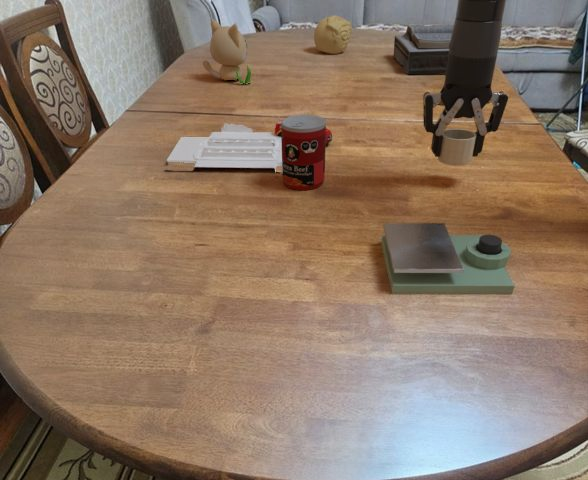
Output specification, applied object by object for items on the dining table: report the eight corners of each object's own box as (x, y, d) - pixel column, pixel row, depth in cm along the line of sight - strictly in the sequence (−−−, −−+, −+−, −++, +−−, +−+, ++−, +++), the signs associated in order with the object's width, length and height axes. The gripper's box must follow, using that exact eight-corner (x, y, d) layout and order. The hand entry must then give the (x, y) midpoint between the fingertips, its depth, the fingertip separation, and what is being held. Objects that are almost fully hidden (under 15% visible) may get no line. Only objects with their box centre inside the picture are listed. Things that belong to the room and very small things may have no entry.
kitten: (262, 81, 157) (260, 21, 147) (236, 88, 151) (232, 26, 142) (228, 72, 165) (223, 15, 155) (202, 79, 159) (195, 20, 150)
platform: (443, 226, 81) (444, 222, 81) (462, 273, 71) (463, 269, 71) (383, 226, 81) (383, 223, 81) (393, 273, 71) (394, 269, 71)
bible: (464, 55, 179) (470, 21, 172) (473, 76, 158) (480, 38, 152) (392, 54, 182) (396, 20, 175) (392, 74, 161) (395, 36, 155)
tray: (307, 173, 105) (306, 154, 103) (164, 176, 107) (160, 158, 104) (310, 137, 121) (309, 119, 118) (185, 140, 123) (182, 123, 120)
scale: (492, 243, 83) (496, 225, 81) (519, 294, 73) (525, 275, 71) (380, 243, 84) (382, 225, 82) (391, 294, 73) (394, 275, 71)
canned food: (274, 185, 101) (272, 123, 94) (298, 171, 106) (297, 111, 99) (309, 194, 97) (309, 131, 90) (332, 179, 103) (334, 118, 95)
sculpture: (339, 57, 179) (341, 19, 172) (307, 53, 184) (308, 16, 177) (355, 50, 186) (357, 14, 180) (324, 47, 191) (325, 11, 184)
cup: (467, 153, 101) (472, 128, 98) (475, 165, 96) (480, 139, 93) (434, 153, 101) (438, 128, 98) (440, 166, 96) (444, 140, 93)
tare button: (496, 245, 78) (498, 234, 76) (501, 256, 75) (504, 244, 74) (474, 245, 78) (477, 234, 76) (479, 256, 75) (482, 244, 74)
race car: (336, 141, 117) (337, 122, 115) (324, 149, 114) (324, 129, 111) (285, 130, 123) (285, 112, 120) (271, 137, 119) (271, 118, 117)
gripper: (431, 56, 85) (418, 163, 95) (525, 55, 84) (501, 162, 95) (424, 46, 90) (412, 148, 101) (512, 45, 90) (490, 147, 101)
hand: (455, 154), depth 98 cm, fingers closed on cup, 6 cm apart
